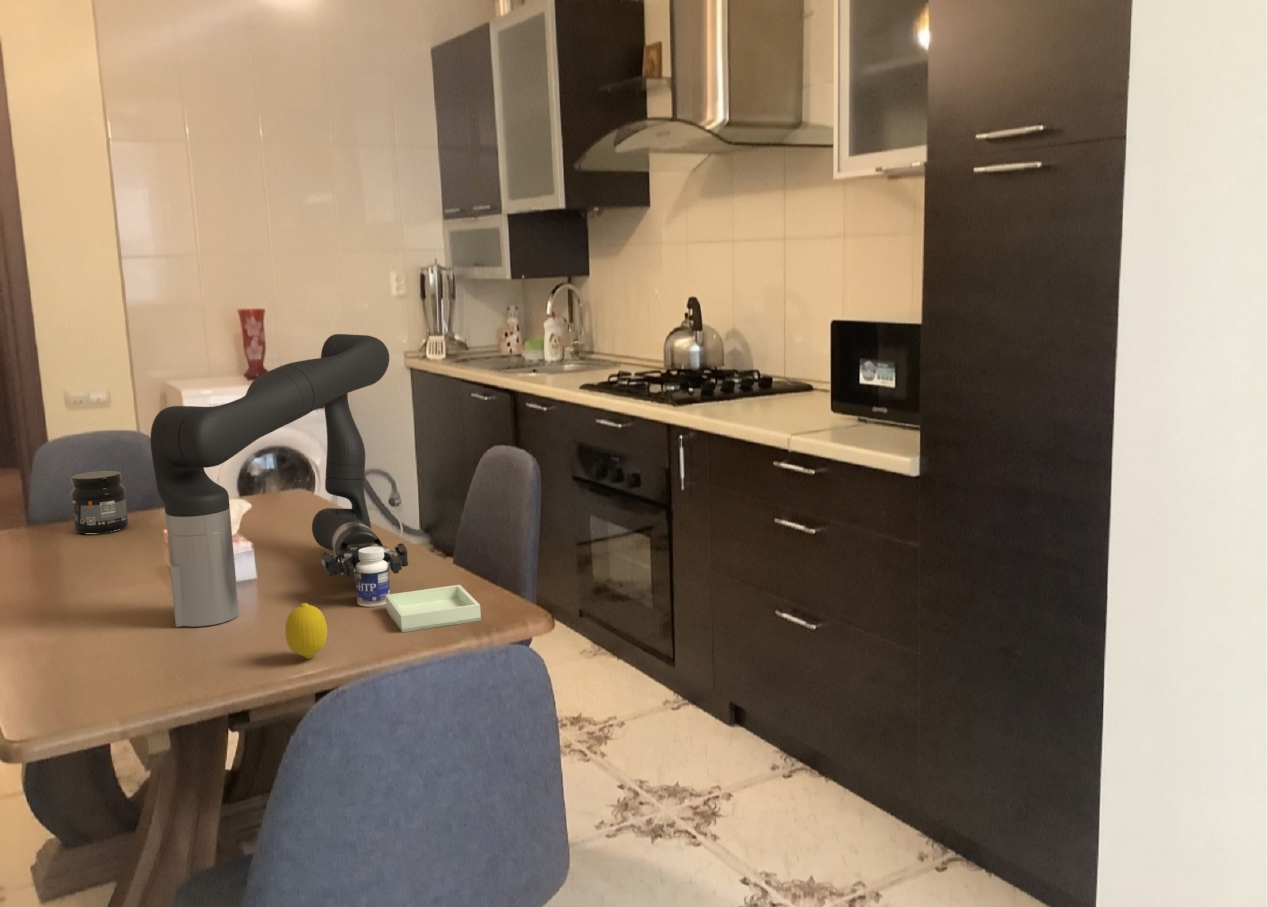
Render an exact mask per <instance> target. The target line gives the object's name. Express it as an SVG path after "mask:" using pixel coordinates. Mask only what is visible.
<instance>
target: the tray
mask: <svg viewBox="0 0 1267 907" xmlns="http://www.w3.org/2000/svg"><path fill="white" fill-rule="evenodd" d="M385 596H386V604H385V610H386V612H387V613H388V614H389V616H390V617H391V619H392V620H393V622H394V621H395V622H394V623H395V624H397V625H396V626H397V627H398V629H399V630H400V632H401V633H409V632H415V631H421V630H429V629H435V628H441V627H446V626H452V625H453V626H455V625H461V624H468V623H473V622H474V623H475V622H481V621H482V614H481V604H480V603H479V602H478V601H477V600H476V599H475V598H474V597H473V596H472V595H471V594H470V593H469V592H468V591H467V590H466V589H465V588H464V587H463V586H462V585H461V584H455V585H449V586H448V585H447V586H440V587H433V588H426V589H419V590H412V591H411V590H410V591H404V592H403V591H402V592H398V593H390V594H388V595H385Z"/></svg>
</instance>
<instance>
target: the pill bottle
mask: <svg viewBox="0 0 1267 907" xmlns="http://www.w3.org/2000/svg"><path fill="white" fill-rule="evenodd" d="M358 554H359V560H360V562H359V563H358V564H357V565H356V567H355V573H354V575H355V588H356V601H357V604H358V605H359V606H361V607H365V608H373V607H374V608H375V607H376V608H377V607H382V606H386V596H385V595H388V594H391V585H390V582H391V581H390V568H389V566H388V563H387V562H386V561H384V560H383V558H384V549H383V548H382V547H366V548H362V549H360V550H359V551H358Z"/></svg>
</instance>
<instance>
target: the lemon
mask: <svg viewBox="0 0 1267 907" xmlns="http://www.w3.org/2000/svg"><path fill="white" fill-rule="evenodd" d="M284 629H285V631H284V633H285V640H286V642H287V645H288V648H290V650H291V651H292V652H293V653H295V654H296V655H298V656H302V657H303V658H304V659H307V660H309V659H312V657H313V656H314V655H315V654H317V653H318V652H320V651H321V650H322V649H323V647H324V646H325V644H326V642H327V639H328V638H327V637H328V625H327V621H326V617H325V615H324V614H323V612H322V611H321V610H320V609H319V608H318V607H316V606H315V605H311V604H309V603H307V602H304V603H301V604H300V605H299V606H297V607H295V608H294V609H293V610H292V611H290V613H289V614H288V617H287V618H286V623H285V628H284Z"/></svg>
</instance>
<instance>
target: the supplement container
mask: <svg viewBox="0 0 1267 907" xmlns="http://www.w3.org/2000/svg"><path fill="white" fill-rule="evenodd" d="M70 480H71V486H72V487H73V489H72V490H71V491H70V494H69V495H70V498H71V507H72V517H73V529H74V531H75V532H76V533H78V534H80V533H105V532H110V531H114V530H118V529H122V528H124V529H126V528H127V527H128V525H129V518H128V507H127V498H126V487H125V486H124V485H123V484H122V481H123V480H122V473H121V472H120V471H115V470H102V471H89V472H84V473H80V474H79V473H78V474H75V475H73V476H72V477H71V478H70ZM126 526H127V527H126ZM122 530H123V529H122Z"/></svg>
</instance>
